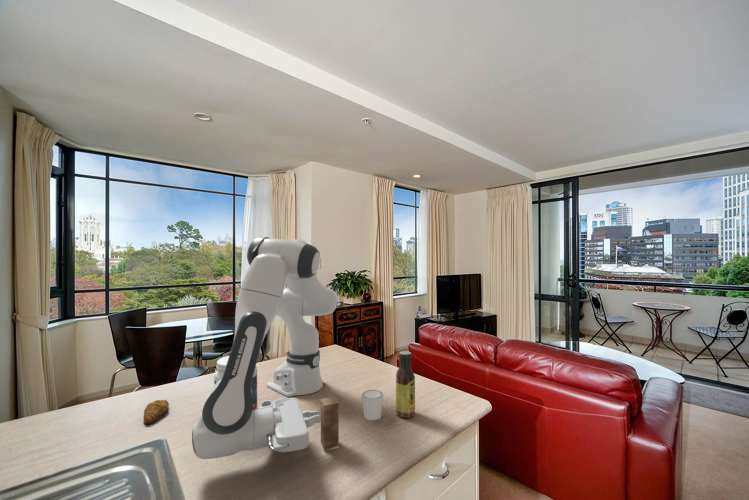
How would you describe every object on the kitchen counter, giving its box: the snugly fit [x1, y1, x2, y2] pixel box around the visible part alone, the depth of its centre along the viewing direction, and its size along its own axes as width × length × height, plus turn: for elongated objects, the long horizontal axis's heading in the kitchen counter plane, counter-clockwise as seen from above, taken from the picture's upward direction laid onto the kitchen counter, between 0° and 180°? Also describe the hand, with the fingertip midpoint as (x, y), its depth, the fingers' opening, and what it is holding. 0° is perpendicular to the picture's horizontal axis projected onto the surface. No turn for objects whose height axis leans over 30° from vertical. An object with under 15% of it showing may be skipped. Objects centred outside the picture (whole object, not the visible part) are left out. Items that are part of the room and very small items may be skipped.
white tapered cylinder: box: [361, 389, 384, 421], centre depth 100 cm, size 7×7×7 cm
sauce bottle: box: [395, 350, 416, 419], centre depth 101 cm, size 6×6×20 cm
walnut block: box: [320, 396, 340, 452], centre depth 85 cm, size 4×4×12 cm
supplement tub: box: [213, 355, 258, 411], centre depth 100 cm, size 13×13×18 cm
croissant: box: [142, 399, 170, 425], centre depth 101 cm, size 14×7×5 cm, turn 16°
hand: (319, 415), depth 84 cm, fingers closed
